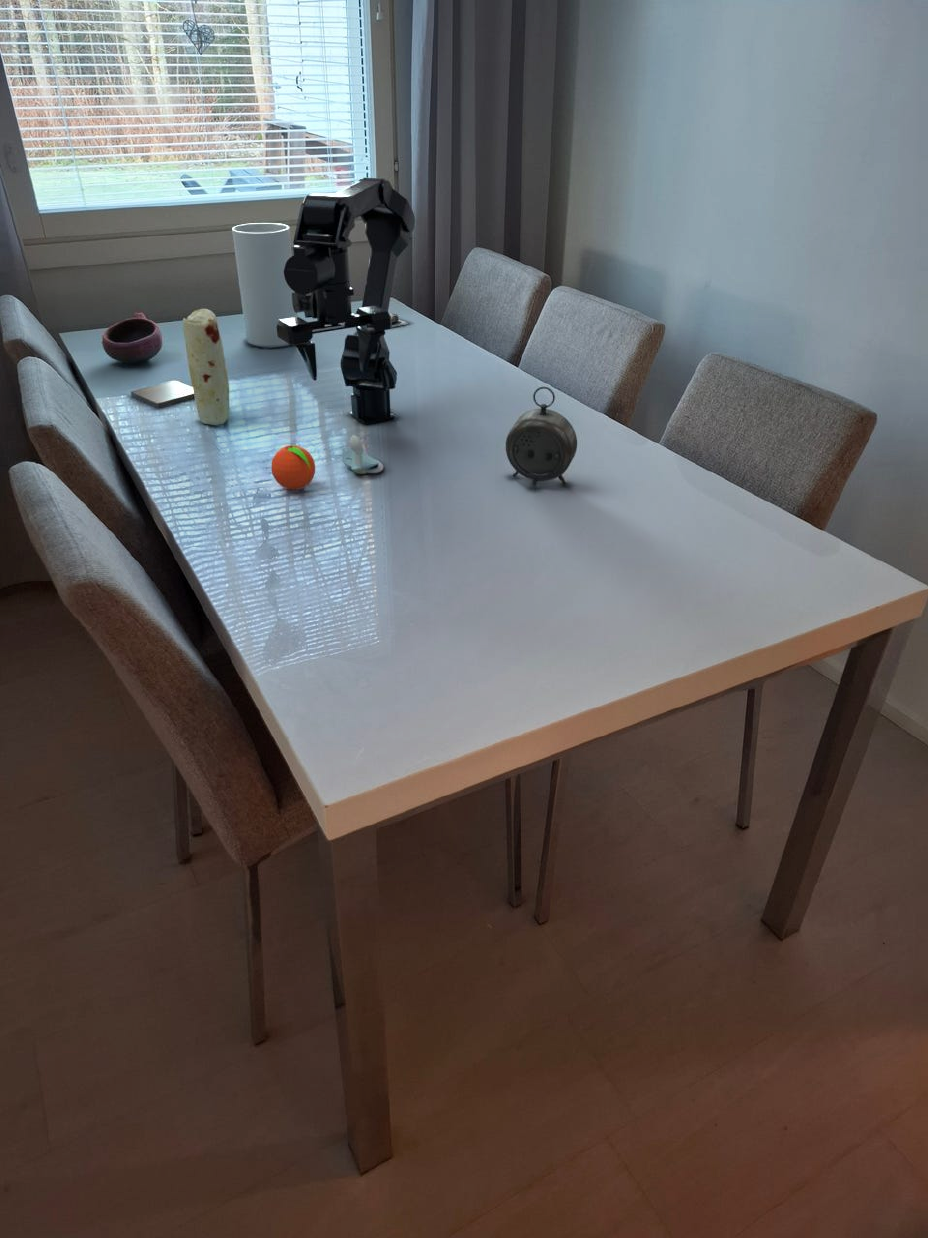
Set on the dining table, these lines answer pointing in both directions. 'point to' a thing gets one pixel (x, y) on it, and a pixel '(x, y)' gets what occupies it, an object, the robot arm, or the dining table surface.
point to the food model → (207, 366)
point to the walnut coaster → (164, 394)
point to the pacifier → (360, 458)
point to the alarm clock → (541, 444)
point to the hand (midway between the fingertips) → (338, 375)
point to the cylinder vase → (263, 280)
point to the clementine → (293, 467)
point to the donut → (396, 320)
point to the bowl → (133, 340)
